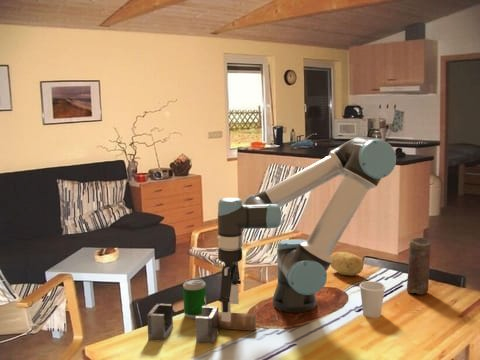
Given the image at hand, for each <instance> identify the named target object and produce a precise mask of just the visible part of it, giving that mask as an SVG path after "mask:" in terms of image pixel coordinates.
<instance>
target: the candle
mask: <svg viewBox="0 0 480 360" xmlns="http://www.w3.org/2000/svg"><path fill="white" fill-rule="evenodd" d="M431 245H432V242H431V240H429V239H428V238H423V237H413V238H412V239H410V241H409V249H408V250H409V253H408V268H407V269H408V270H407V278H406V280H407V282H406V291H407V292H408V293H412V294H414V293H417V294H416V295H418V294H421V295H423V294H426V293H428V292H429V283H430V282H429V280H430V263H431V262H430V261H431Z"/></svg>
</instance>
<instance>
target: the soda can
mask: <svg viewBox="0 0 480 360" xmlns="http://www.w3.org/2000/svg"><path fill="white" fill-rule="evenodd" d="M206 286H207V284H206V282H205V281H204V280H203V279H201V278H189V279H186V280H185V281H184V283H183V284H182V293H183V314H184V315H185V316H186V317H187V318H188V319H190V318H191V319H190V320H195V317H196V316H202V306H207V287H206Z"/></svg>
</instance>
